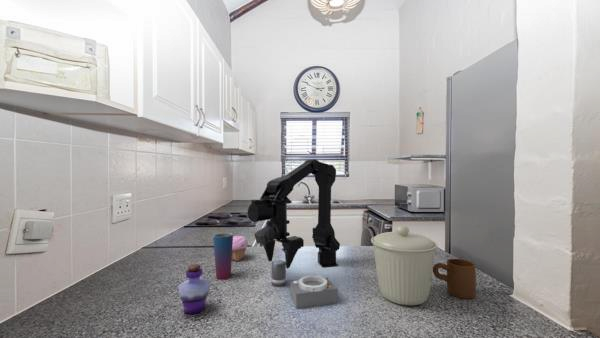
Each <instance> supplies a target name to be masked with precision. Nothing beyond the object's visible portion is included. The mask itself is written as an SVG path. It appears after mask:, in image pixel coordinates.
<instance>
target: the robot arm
mask: <svg viewBox="0 0 600 338" xmlns="http://www.w3.org/2000/svg"><path fill="white" fill-rule="evenodd" d="M311 174H312V175H313V176H314V181H315V182H316V185H317V187H318V199H317V200H318V207H317V208H318V209H317V224H316V226H315V227H313V228H312V235H311V238H312V240H313V243H314V245H315V248H317V249H318V251H317V264H319V265H320V266H321V267H322V268H326V267H328V268H330V267H338V266H339V264H338V263H337V252H338V250H340V248H341V247H340V246H341V243H340V242H339V240H338V239H336V235H335V229H334V227H333V225H332V222H331V220H332V219H331V217H332V213H331V212H332V211H331V210H332V187H333V185H334V183H335V182H336V178H337V169H336V168H335V166H334V165H333V164H327V163H324V162H321V161H320V160H316V159H307V160H304V162H303V163H302V164H300V165H299V166H297V167H295V168H294V169H293V170H291V171H289V172H288V173H287V174H285V175H282V176H278V177H276V178H273V179H270V180H269V181H268V182H267V183H266V188H265V189H264V191H263V193H262V195H261V197H260V198H259V199H251V204H250V205H249V206H248V209H247V217H248V219H249V221H250V222H252V223H258V222H262V221H263V222H264V221H266V225H265V226H264V227H262V228H260V229H259V230H258V231H256V232H254V233H253V235H254V238H255V241H256V243H257V244H260V245H262V246H263V249H264V251H265V253H266V257H267V260H268V262H273V258H274V252H275V247H276V246H275V245H276V242H278V243H281V246H282V247H283V248H281V251H283V253H284V259H285V260H284V261H285V262H286V269H289V268H290V267H291V265H292V264H293V261H294V259H295V258H296V257H295V256H296V255H297V253H298V251H299V250H300V249H301V248H304V244H305V242H304V241H305V240H304V239H303V237H301V236H296V235H293V236H290V232H288V224H290V220H289V219H288V215H287V214H288V212H287V211H288V208H287V207H288V205H287V204H292V200H291V199H289V198H288V196H289V195H290V194H291V193H292V192H293V191H294V187H295V186H296V185H297V184H298V183H300V182H301V181H302V180H303V179H305V178H307V176H309V175H311Z"/></svg>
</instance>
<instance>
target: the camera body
mask: <svg viewBox="0 0 600 338" xmlns="http://www.w3.org/2000/svg"><path fill="white" fill-rule="evenodd" d="M289 287H290V288H289V290H290V291H289V293H290V298H291V300H292V302H293V304H294V306H295V309H297V310H298V309H304V308H311V307H318V306H324V305H331V304H337V303H338V288H337V287H336V285H335V284H334V283H333V282H332V281H331V280H330V279H329V278H328V277H323V276H320V275H305V276H302V277H301V278H300V279H298V280H297V279H296V280H293V281H290V282H289Z"/></svg>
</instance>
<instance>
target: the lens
mask: <svg viewBox="0 0 600 338" xmlns="http://www.w3.org/2000/svg"><path fill="white" fill-rule="evenodd" d="M270 267H271V268H270V271H271V273H270V275H271V278H270V282H271V286H272V287H274V288H282V287H285V286H286V285H287V271H286V270H287V268H286V261H285V260H280V259H278V260H272V261H271V264H270Z"/></svg>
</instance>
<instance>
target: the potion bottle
mask: <svg viewBox="0 0 600 338" xmlns="http://www.w3.org/2000/svg"><path fill="white" fill-rule="evenodd" d="M202 276H203V268H202V267H201V264H199V263H196V264H195V263H194V264H190V265H188V266H187V270H186V271H185V278H187V279H186V280H184V281H182V282H180V283H179V284H177V287H178V293H179V296H180V300H181V301H182V306H183V312H184V314H185V315H189V316H192V315H197V314H201V313H202V312H203V311H204V310H205V309H206V307H205V306H206V302H207V296H209V292H210V287H211V281H210V279H208V278H201V277H202Z"/></svg>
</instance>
